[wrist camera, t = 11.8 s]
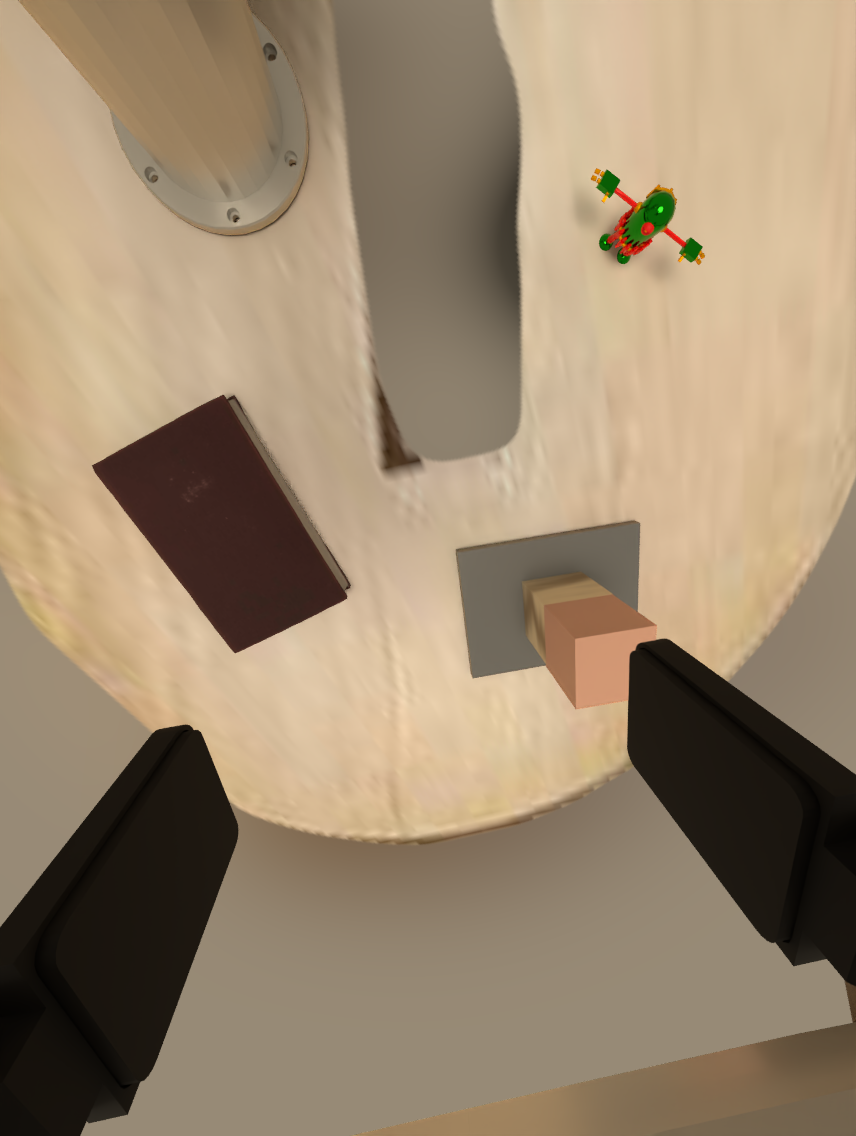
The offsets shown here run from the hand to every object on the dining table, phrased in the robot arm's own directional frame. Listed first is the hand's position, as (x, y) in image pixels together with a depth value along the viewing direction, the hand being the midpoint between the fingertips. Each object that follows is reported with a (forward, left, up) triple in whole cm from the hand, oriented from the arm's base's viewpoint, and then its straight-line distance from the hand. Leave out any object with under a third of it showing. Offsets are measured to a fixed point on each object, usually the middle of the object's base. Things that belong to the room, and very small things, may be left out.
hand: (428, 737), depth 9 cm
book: (0, -15, -31) cm, 34 cm away
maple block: (+12, +14, -29) cm, 35 cm away
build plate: (+12, +14, -30) cm, 35 cm away
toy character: (-19, +21, -31) cm, 42 cm away
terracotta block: (+12, +14, -23) cm, 30 cm away
